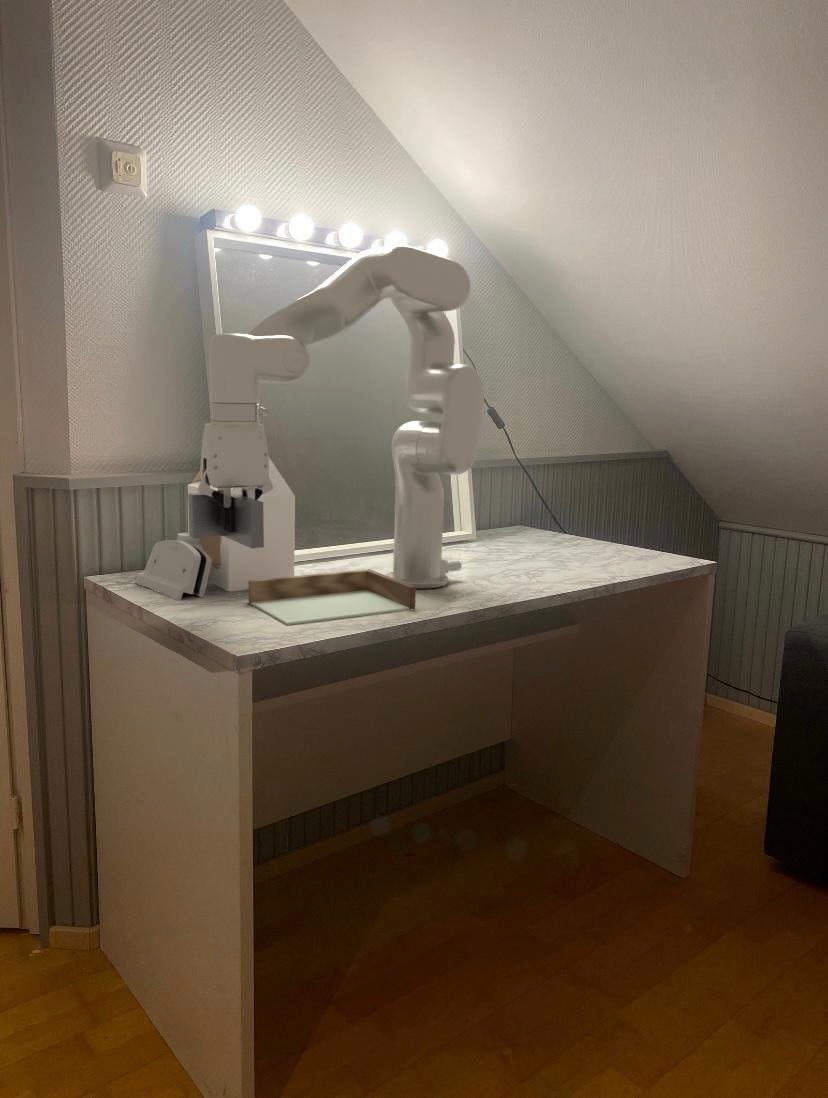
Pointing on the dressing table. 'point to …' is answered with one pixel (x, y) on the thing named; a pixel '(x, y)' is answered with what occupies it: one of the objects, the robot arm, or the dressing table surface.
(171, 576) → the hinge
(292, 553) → the gable box
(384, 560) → the dressing table surface
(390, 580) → the walnut wall short
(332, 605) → the sage mat
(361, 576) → the walnut wall long
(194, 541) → the pill bottle
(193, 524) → the bracket
